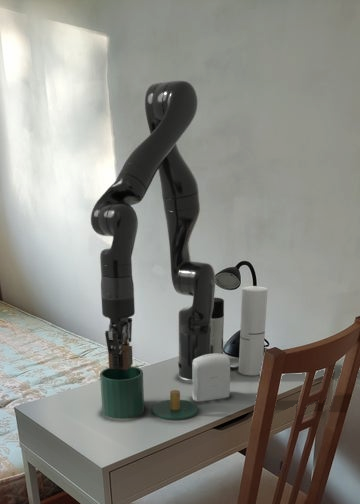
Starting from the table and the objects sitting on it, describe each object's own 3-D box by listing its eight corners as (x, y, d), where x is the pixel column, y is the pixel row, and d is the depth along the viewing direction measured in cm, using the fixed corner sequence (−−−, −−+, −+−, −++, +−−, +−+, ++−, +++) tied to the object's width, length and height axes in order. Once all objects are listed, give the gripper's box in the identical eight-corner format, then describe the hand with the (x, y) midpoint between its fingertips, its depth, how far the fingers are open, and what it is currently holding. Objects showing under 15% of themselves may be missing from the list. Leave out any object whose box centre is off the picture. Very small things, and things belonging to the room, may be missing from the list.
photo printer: (195, 404, 138) (195, 359, 133) (189, 398, 142) (190, 354, 137) (231, 399, 141) (233, 354, 136) (225, 393, 145) (226, 349, 140)
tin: (126, 400, 141) (124, 362, 136) (152, 412, 134) (151, 372, 130) (94, 411, 134) (91, 372, 130) (119, 424, 127) (117, 383, 123)
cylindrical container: (261, 376, 157) (266, 291, 147) (237, 374, 158) (241, 290, 148) (262, 368, 163) (268, 286, 153) (239, 366, 165) (243, 285, 155)
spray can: (225, 364, 167) (227, 301, 159) (205, 366, 165) (206, 302, 157) (218, 357, 173) (219, 296, 165) (198, 359, 171) (199, 297, 163)
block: (114, 362, 131) (113, 344, 130) (132, 363, 131) (132, 345, 129) (109, 368, 127) (108, 350, 125) (127, 370, 126) (126, 351, 125)
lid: (176, 400, 141) (176, 380, 138) (207, 412, 133) (207, 391, 131) (143, 412, 133) (142, 391, 131) (174, 426, 126) (174, 404, 124)
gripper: (124, 302, 115) (127, 376, 122) (141, 289, 128) (143, 356, 135) (91, 301, 116) (96, 374, 123) (111, 288, 129) (115, 355, 136)
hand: (121, 364), depth 129 cm, fingers closed on block, 4 cm apart
